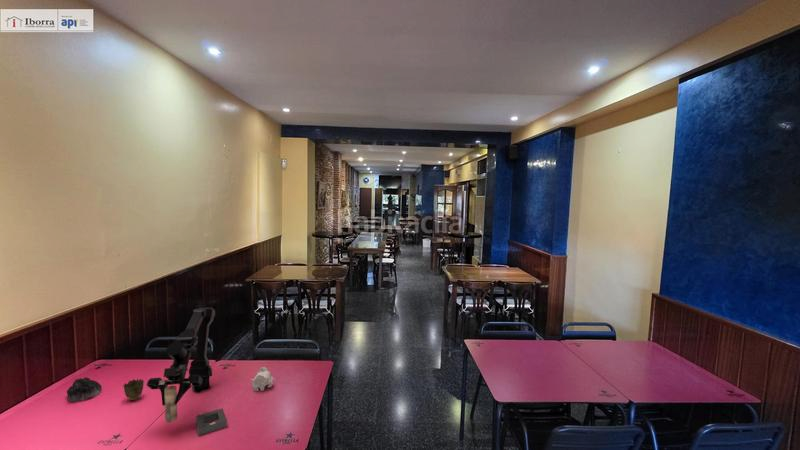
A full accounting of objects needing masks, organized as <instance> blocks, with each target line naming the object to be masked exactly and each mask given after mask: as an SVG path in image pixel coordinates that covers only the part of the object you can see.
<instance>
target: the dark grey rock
mask: <svg viewBox="0 0 800 450" xmlns="http://www.w3.org/2000/svg"><path fill="white" fill-rule="evenodd" d="M102 390H103V388H102V384H100V383H99V382H98V381H97V380H94V379H90V377H86V376H85V377H83V378H81V377H80V378H76V379H75V380H74V381H73V383H72V385H71V386H70V387H69V388H68V389H67V390H66V394H67V396H66V399H67V400H68V402H70V403H71V402H72V403H75V402H81V401H84V400H88V399H91V398H94V397H97V396H98V395H100V393H101V392H102Z"/></svg>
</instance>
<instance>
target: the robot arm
mask: <svg viewBox="0 0 800 450" xmlns="http://www.w3.org/2000/svg"><path fill="white" fill-rule="evenodd" d="M215 316H216V309H214V308H213V307H199V308H195V309H193V310H192V316H191V317H190V320H189V322H188V323H187V326H186V328H185V330H183V331H182V332H181V333H180V334H179V335H178V336H177V338H176V339H174V341H173V342H172V343H170V344H169V345H168V346H167V347H166V350H165V351H166V353H167V355H168V356H169V357H170V358H171V359H172V364H171V365H170V367H169V368H168V367H167V368H164V371H163V378H166V379H162V378H161V377H151V378H149V379H148V380H147V383H146V386H147V387H148V388H149V389H150V390H159V391H160V394H161V395H160V396H161V403H162V406H163V407H165V394H164V389H165V388H167V387H169V386H174V385H178V386H179V387H178V391H177V397H176V400H175V405H176V404H177V405H178V403H179V402H180V401H181V399H182V398H183V396H184V395H185V393H186V392H188V391H189V389H192V391H194V392H195V393H196V394H199V393H201V392H204V391H206V390H209V389H211V388H212V386H211V385H210V377H212V376H213V367H212V366H211V365H210V360H209V359H208V357H207V352H208V341H209V331H210V326H211V324H212V323H213V322H214V318H215ZM194 348H196V349H195V350H196V351H195V357H194V359H193V360H191V362H190V359H191V357H192V353H191V352H190V350H189V349H191V350H192V349H194ZM189 363H190V367H189ZM188 367H189V368H188ZM187 372H188V374H189V375H188V377H187V378H186V374H187Z"/></svg>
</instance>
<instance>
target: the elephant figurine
mask: <svg viewBox="0 0 800 450" xmlns="http://www.w3.org/2000/svg"><path fill="white" fill-rule="evenodd" d="M274 380H275V381H276V378H274V377H273V376H272V375H271V372H270V371H269V370H268V368H267V367H265V366H261V367H260V368H259V369H258V371H257V374H256V375H255V376H254V378H250V381H252V384H251V385H252V390H253V391H254V392H256V391H257V392H264V390H265V387H266V386H267V388H271V387H272V385H275V384H274Z"/></svg>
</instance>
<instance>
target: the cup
mask: <svg viewBox="0 0 800 450" xmlns="http://www.w3.org/2000/svg"><path fill="white" fill-rule="evenodd" d="M144 382H145V380H144V379H141V378H140V379H139V378H137V379H132V380H129V381H128V383H124V384H123V390H124V391H123V392H124V395H125V397H127V398H128V399H129V401H131V402H134V401H137V400H139V399H140V395H142V393H143V390H144Z"/></svg>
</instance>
